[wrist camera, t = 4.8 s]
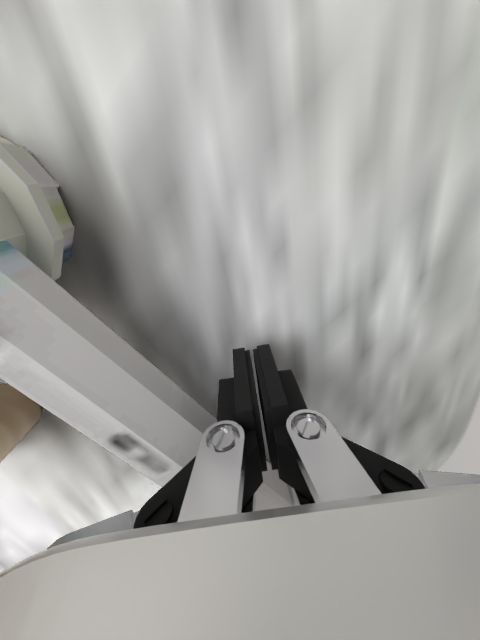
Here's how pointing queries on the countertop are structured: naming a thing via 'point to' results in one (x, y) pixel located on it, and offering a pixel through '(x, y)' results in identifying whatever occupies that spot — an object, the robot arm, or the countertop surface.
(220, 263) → the countertop surface
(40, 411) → the peg rack
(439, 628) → the robot arm
